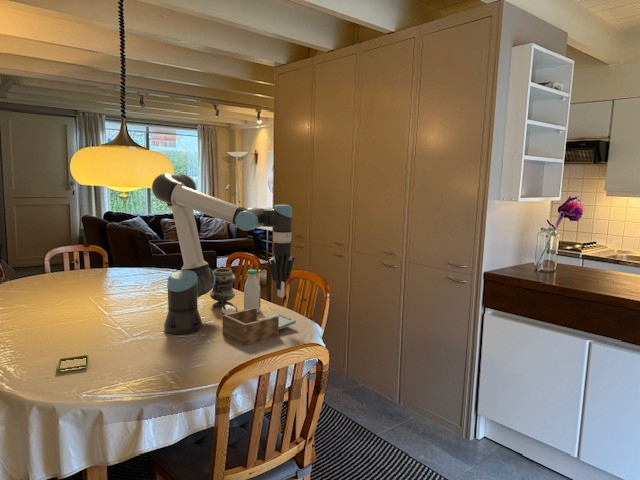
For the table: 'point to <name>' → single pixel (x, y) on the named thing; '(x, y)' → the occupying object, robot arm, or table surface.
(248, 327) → the crate
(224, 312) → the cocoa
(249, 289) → the milk bottle
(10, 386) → the table surface
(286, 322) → the panel
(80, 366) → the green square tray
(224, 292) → the apothecary jar
